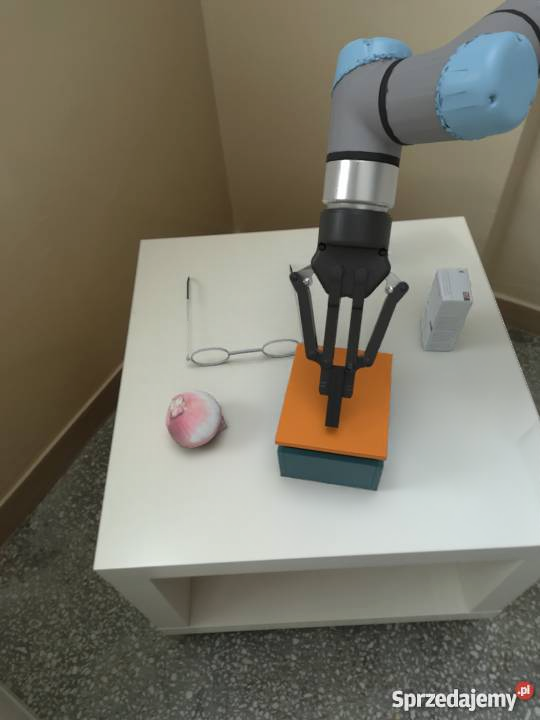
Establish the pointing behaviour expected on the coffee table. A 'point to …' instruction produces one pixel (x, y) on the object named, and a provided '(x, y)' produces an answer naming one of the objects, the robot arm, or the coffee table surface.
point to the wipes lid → (357, 416)
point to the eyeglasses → (241, 350)
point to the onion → (194, 418)
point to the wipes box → (330, 467)
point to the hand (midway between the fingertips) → (332, 423)
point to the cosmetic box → (446, 309)
